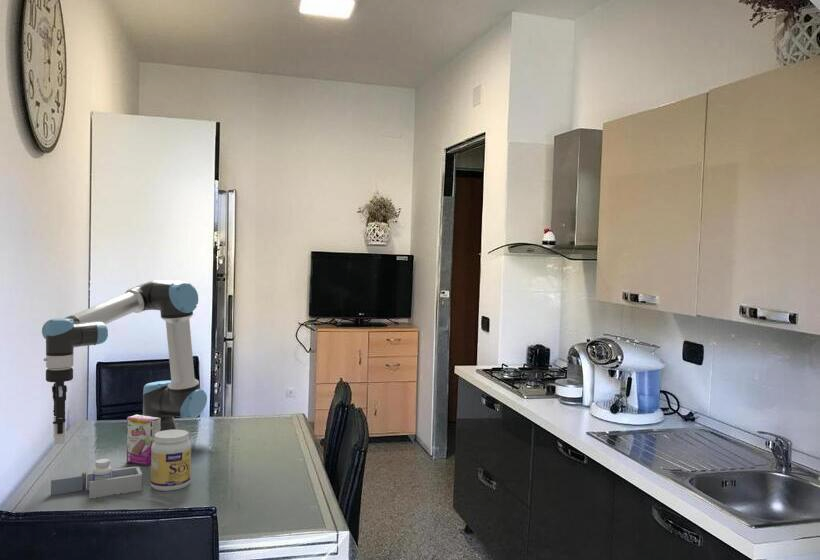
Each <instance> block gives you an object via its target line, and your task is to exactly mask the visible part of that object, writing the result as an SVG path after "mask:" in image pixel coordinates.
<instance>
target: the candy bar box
mask: <svg viewBox="0 0 820 560" xmlns="http://www.w3.org/2000/svg"><path fill="white" fill-rule="evenodd" d="M160 431H161V418H157V417H150V416H144V415H143V414H134V415H130V416H127V418H126V463H129V464H136V465H142V466H147V467H151V447H152V444H153V443H154V442H155V441H154V435H155V433H157V432H160Z"/></svg>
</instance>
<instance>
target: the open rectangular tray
mask: <svg viewBox="0 0 820 560" xmlns="http://www.w3.org/2000/svg"><path fill="white" fill-rule="evenodd" d="M143 490H144V474H143V471H142V470H141V468H140V467H139V465H138V466H137V465H136V466H130V467H122V468H116V469H112V478H109V479H103V480H96V481H93V472H89V473H87V472H86V491H88V492H89V493H88V497H89V499H90V500H91V498H92V499H97V498H96V497H98V498H102V497H101V496H104V497H107V496H106V495H110V496H113V495H112V494H116V495H121V494H120V493H122V494H127V493H128V492H129V493H134V492H140V491H143ZM129 493H128V494H129Z"/></svg>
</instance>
